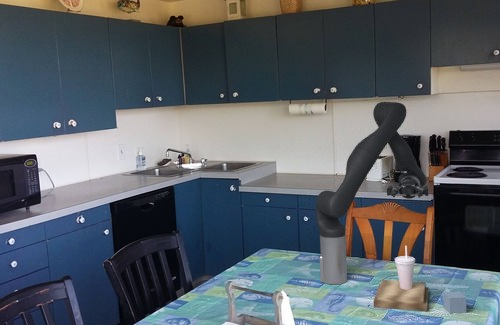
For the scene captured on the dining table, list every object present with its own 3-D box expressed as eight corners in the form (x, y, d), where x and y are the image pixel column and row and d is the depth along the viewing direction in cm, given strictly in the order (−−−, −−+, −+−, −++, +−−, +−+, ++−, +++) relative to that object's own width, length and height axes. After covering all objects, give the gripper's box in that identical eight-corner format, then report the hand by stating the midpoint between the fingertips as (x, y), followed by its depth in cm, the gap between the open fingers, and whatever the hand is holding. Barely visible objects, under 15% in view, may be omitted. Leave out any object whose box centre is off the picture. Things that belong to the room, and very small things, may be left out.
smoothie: (417, 291, 166) (415, 248, 165) (396, 291, 168) (394, 248, 166) (415, 284, 172) (413, 242, 171) (395, 284, 174) (393, 243, 172)
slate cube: (449, 314, 158) (449, 298, 157) (443, 307, 163) (443, 292, 162) (466, 313, 158) (466, 297, 157) (459, 306, 163) (459, 291, 162)
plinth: (373, 307, 166) (373, 294, 165) (379, 289, 181) (379, 278, 180) (426, 311, 160) (426, 298, 160) (428, 293, 175) (428, 281, 175)
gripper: (389, 177, 199) (385, 183, 184) (429, 176, 194) (427, 183, 179) (390, 196, 199) (385, 204, 184) (429, 196, 194) (428, 205, 179)
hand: (406, 194), depth 181 cm, fingers open, 8 cm apart
